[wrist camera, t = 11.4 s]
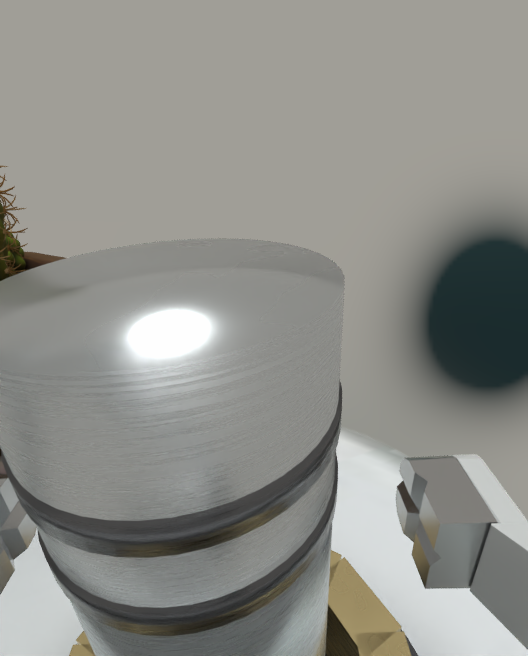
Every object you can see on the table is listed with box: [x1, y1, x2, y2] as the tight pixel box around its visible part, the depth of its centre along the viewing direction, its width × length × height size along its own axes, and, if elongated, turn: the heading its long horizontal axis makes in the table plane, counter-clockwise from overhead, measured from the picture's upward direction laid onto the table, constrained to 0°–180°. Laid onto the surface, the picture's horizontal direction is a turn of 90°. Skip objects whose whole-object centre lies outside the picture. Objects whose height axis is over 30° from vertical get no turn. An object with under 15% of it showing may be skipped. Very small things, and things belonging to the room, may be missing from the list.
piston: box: [0, 239, 344, 656], centre depth 8 cm, size 5×5×15 cm
